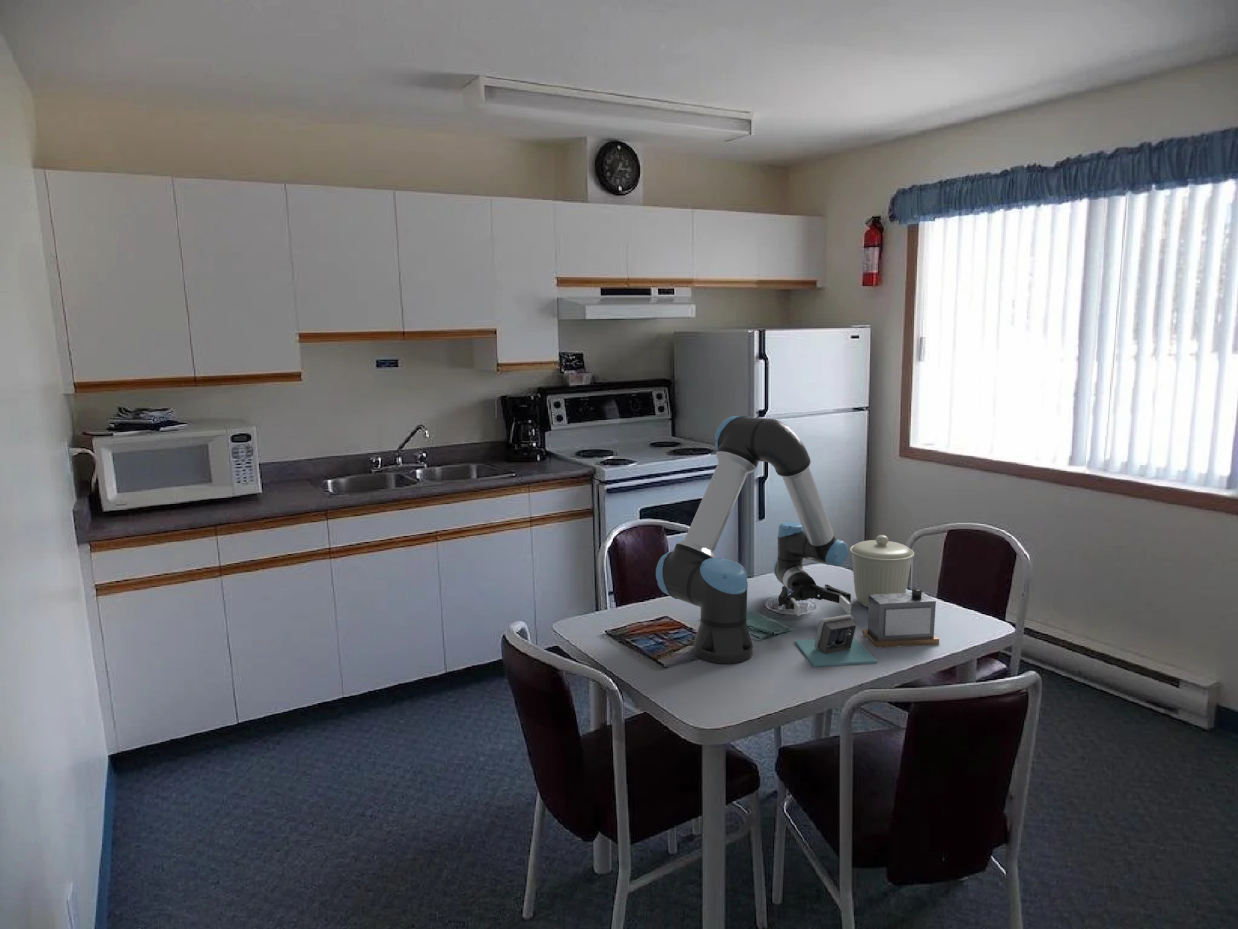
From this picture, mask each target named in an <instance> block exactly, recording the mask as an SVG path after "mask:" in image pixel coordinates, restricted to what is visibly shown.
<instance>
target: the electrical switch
mask: <svg viewBox="0 0 1238 929" xmlns="http://www.w3.org/2000/svg"><path fill="white" fill-rule="evenodd" d="M853 618H854V617H853V615H851V613H850V614H848V613H847V614H841V615H837V616H831V617H830V616H829V617H824V618H820V620H819V625H818V627H817V628H818V629H817V632H816V636H815V639H816V641H815V645H814V647H815V648H816V650H819V649H820V650H821V651H823V653H824V654H829V653H834V652H840V651H845V650H850V648H851V645H852V641H853V637H854V636H855V632H856V629H857V624H856V623H855V622H854V621H853ZM854 638H855V637H854ZM833 647H835V649H834V648H833ZM831 648H832V649H831Z"/></svg>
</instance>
